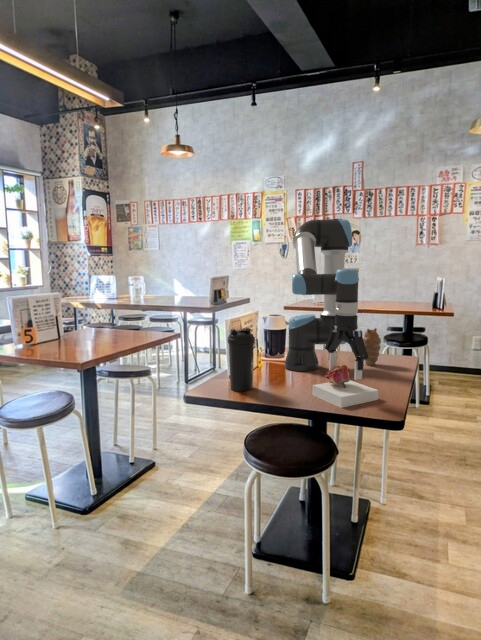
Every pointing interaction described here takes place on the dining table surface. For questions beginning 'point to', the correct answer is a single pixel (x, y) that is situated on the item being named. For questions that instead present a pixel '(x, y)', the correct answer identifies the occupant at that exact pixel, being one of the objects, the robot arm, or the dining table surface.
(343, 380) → the flower
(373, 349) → the cat ice cream
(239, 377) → the water bottle
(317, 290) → the robot arm
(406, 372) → the dining table surface
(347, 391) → the block
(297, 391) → the dining table surface
